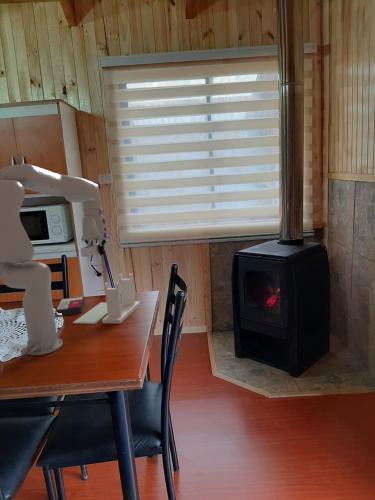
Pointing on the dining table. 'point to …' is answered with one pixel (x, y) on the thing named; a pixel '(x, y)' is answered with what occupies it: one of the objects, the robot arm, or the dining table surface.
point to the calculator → (71, 306)
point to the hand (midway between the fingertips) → (97, 254)
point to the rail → (94, 249)
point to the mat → (93, 314)
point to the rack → (113, 300)
